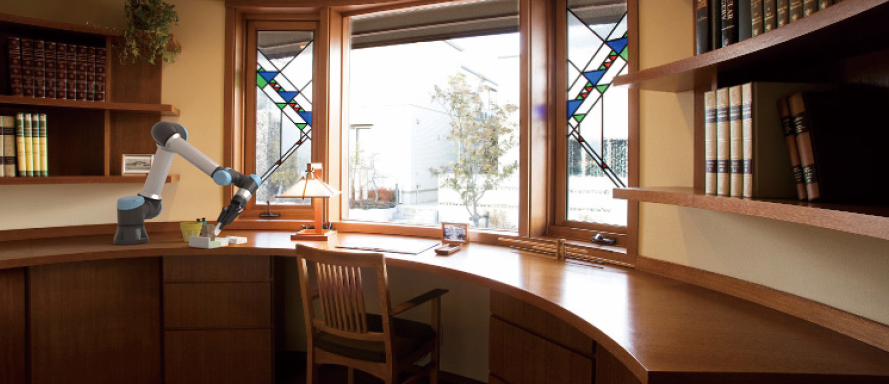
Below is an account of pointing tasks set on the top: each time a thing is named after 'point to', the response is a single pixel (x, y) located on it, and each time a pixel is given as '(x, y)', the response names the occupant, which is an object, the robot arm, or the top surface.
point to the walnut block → (208, 231)
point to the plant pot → (190, 229)
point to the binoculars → (202, 224)
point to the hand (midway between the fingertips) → (214, 234)
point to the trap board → (206, 243)
